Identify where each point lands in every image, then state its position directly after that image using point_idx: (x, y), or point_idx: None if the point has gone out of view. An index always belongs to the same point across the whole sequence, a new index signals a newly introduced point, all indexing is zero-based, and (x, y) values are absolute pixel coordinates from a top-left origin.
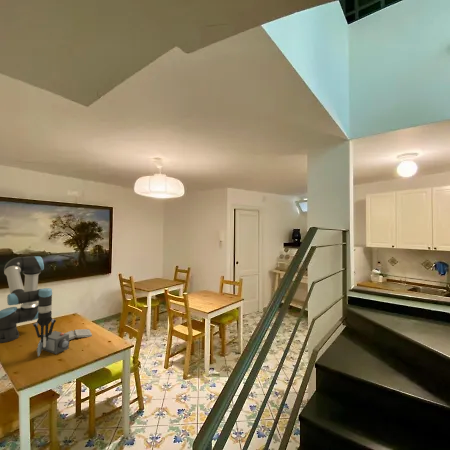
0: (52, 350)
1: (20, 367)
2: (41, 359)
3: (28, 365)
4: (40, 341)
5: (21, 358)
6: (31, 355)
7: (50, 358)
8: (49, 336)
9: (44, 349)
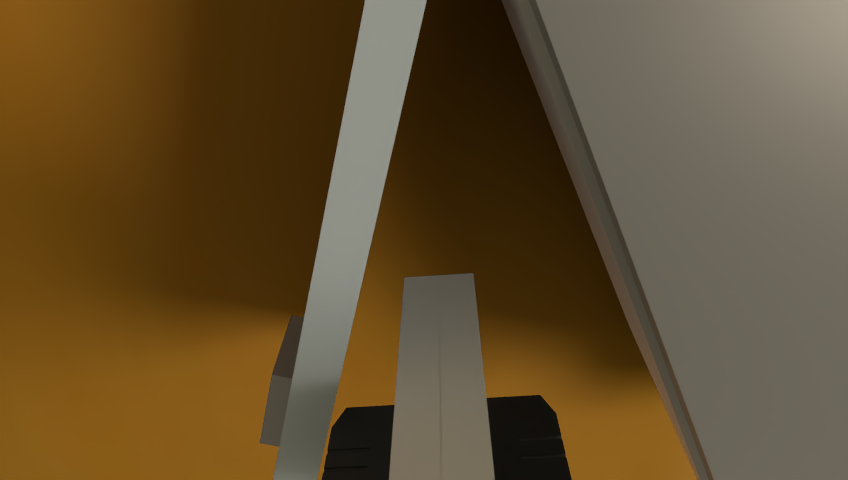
0: (611, 280)
1: (82, 463)
2: (382, 389)
3: (192, 471)
4: (333, 340)
5: (9, 80)
6: (200, 54)
7: None
8: (702, 212)
9: None
